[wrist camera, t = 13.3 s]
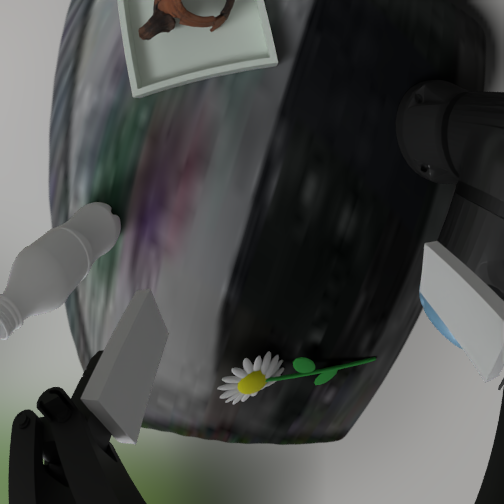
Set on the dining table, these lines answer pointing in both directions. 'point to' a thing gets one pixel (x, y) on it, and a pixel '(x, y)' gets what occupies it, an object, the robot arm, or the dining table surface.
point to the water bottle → (56, 265)
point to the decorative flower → (273, 375)
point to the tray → (195, 45)
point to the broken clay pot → (171, 6)
